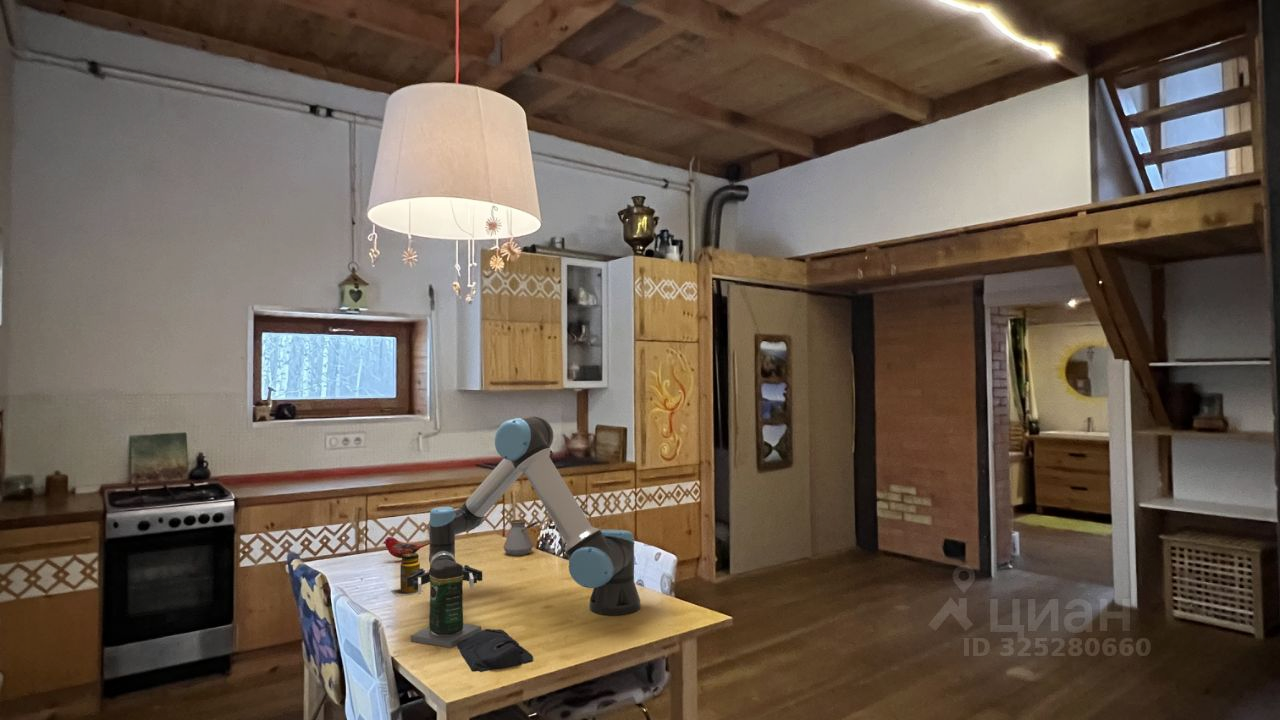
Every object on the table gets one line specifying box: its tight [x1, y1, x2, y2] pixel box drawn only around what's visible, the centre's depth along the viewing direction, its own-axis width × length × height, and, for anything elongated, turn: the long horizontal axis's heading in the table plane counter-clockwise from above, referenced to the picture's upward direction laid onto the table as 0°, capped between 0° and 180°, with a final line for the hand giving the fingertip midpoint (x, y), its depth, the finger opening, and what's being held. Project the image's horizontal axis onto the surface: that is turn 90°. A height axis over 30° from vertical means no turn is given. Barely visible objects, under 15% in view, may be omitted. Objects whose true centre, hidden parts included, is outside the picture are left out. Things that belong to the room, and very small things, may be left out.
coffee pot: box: [503, 519, 542, 557], centre depth 285 cm, size 21×12×15 cm, turn 40°
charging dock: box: [410, 622, 482, 649], centre depth 196 cm, size 13×13×2 cm
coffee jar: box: [428, 559, 464, 635], centre depth 197 cm, size 10×8×19 cm
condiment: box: [391, 552, 424, 597], centre depth 238 cm, size 7×8×12 cm
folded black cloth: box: [456, 628, 534, 673], centre depth 184 cm, size 15×22×5 cm
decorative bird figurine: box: [382, 536, 430, 563], centre depth 277 cm, size 3×18×10 cm, turn 115°
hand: (446, 586), depth 195 cm, fingers open, 13 cm apart
